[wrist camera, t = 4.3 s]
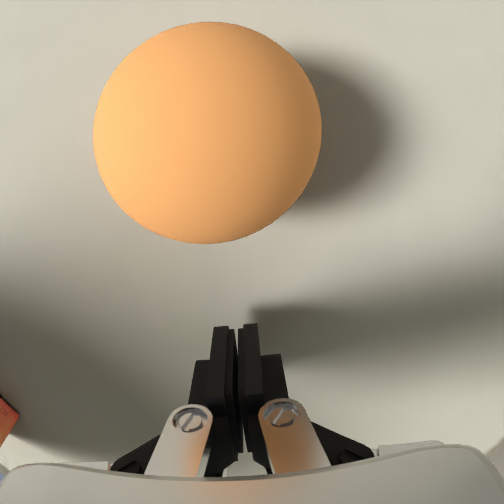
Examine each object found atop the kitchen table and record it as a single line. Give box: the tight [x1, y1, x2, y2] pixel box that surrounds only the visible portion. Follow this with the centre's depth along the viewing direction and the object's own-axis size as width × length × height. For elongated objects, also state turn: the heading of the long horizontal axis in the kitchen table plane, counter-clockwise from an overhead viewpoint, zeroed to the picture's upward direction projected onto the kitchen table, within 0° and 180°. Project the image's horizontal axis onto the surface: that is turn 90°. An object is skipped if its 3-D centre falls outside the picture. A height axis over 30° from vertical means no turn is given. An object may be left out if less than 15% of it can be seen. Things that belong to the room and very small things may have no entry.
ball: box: [93, 22, 322, 244], centre depth 8 cm, size 6×6×6 cm
